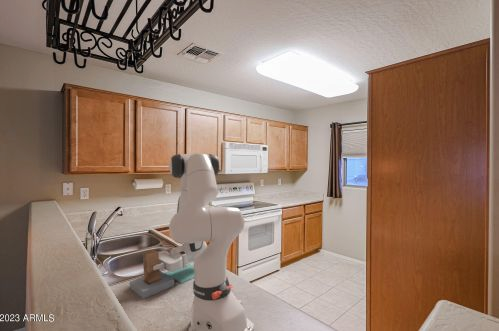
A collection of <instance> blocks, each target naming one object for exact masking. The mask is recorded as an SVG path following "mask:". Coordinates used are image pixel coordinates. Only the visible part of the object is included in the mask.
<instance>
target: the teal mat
mask: <svg viewBox="0 0 499 331" xmlns="http://www.w3.org/2000/svg"><path fill="white" fill-rule="evenodd" d="M164 273H165V274H166V275H168V276H170V277H172V278H173V279H174V281H176V282H178V283H180V284H184V283H185V282H189V281H191V280H192V279H194V265H192V264H190V263H187V267H186V268H182V269H179V270H177V271H173V272H169V271H168V270H167V271H166V272H164Z"/></svg>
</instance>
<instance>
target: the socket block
mask: <svg viewBox="0 0 499 331" xmlns="http://www.w3.org/2000/svg"><path fill="white" fill-rule="evenodd" d="M165 273H166V272H162V270H160V280H159V281H157V282H154V283H152V284H149V285H148V284H146V283H145V282H144V275H143V276H141V277H138V278H135V279H132V280H130V281H129V289H131V291H133V292H134V293H135V294H137V295H138V296H139V297H140V298H142V299H143V300H144V299H146V298H149V297H150V296H154V295H155V294H158V293H160V292H162V291H165V290H167V289H170V288H171V287H174V286H175V280H174V279H173V278H172V277H170V276H168V275H166V274H165Z"/></svg>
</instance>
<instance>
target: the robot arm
mask: <svg viewBox="0 0 499 331" xmlns="http://www.w3.org/2000/svg"><path fill="white" fill-rule="evenodd" d="M168 169H169V172H170V174H171V176H172V177H174V178H176V179H181V180H180V195H179V198H178V200H177V208H176V209H177V210H176V213H175V214H174V215H173V216H172V218H171V220H169V221H170V222H169V225H168V233H169V235H170V237H171V238H172V240H173V241H174V242H175V243H176V244H182V245H180V246H176V247H173V248H171V249H170V251H169V252H168V251H166V250H162V251H158V252H159V264H158V265H153V266H152V269H153V270H157V269H160V270H166V271H167V272H168V271H169V272H173V271H177V270H179V269H182V268H186V267H187V264H188V262H193V266H194V278H193V279H194V280H193V282H192V283H193V284H192V289H193V295H194V296H193V301H192V303H191V311H190V312H191V314H190V316H191V317H190V326H189V327H188V331H254V330H253V329H255V324H254V323H253V322H252V321H251V320H250V319H249V318H248V317H247V314H246V309H245V307H244V306H243V301H242V300H241V299H238V298H237V297H236V296H235V294H234V292H232V288H233V284H232V283H231V284H230V282H229V279H228V276H227V262H228V261H227V259H228V258H227V257H228V253H229V251H230V247H231V245H232V243H233V242H234V241H235V239H236V238H237V237H238V236H239V235H240V234H241V233H242V231H243V230H244V227H245V217H244V214H243V213H242V211H241V209H239V208H238V207H232V206H219V207H218V206H217V207H211V208H207V207H205V206H206V205H208V204H210V203H211V202H213V201H214V200H215V199H216V198H217V196H218V192H219V189H218V185H217V184H218V183H217V179H216V176H217V175H218V174H219V173H220V169H221V163H220V159H219V157H218V156H217V155H215V154H213V153H209V154H206V153H202V152H196V153H185V154H180V153H179V154H175V155H172V156H171V157H170V161H169V163H168ZM208 241H209V243H208V245H207V242H208Z"/></svg>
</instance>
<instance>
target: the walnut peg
mask: <svg viewBox="0 0 499 331" xmlns="http://www.w3.org/2000/svg"><path fill="white" fill-rule="evenodd" d="M159 252H160V251H157V250H156V249H152V250H149V251H148V250H147V251H145V252H143V253H142V259H143V260H142V263H143V276H144V282H145V283H146V284H148V285H149V284H152V283H154V282H157V281H159V280H160V271H161V269H157V270H153V269H152V266H153V265H158V264H159Z"/></svg>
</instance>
